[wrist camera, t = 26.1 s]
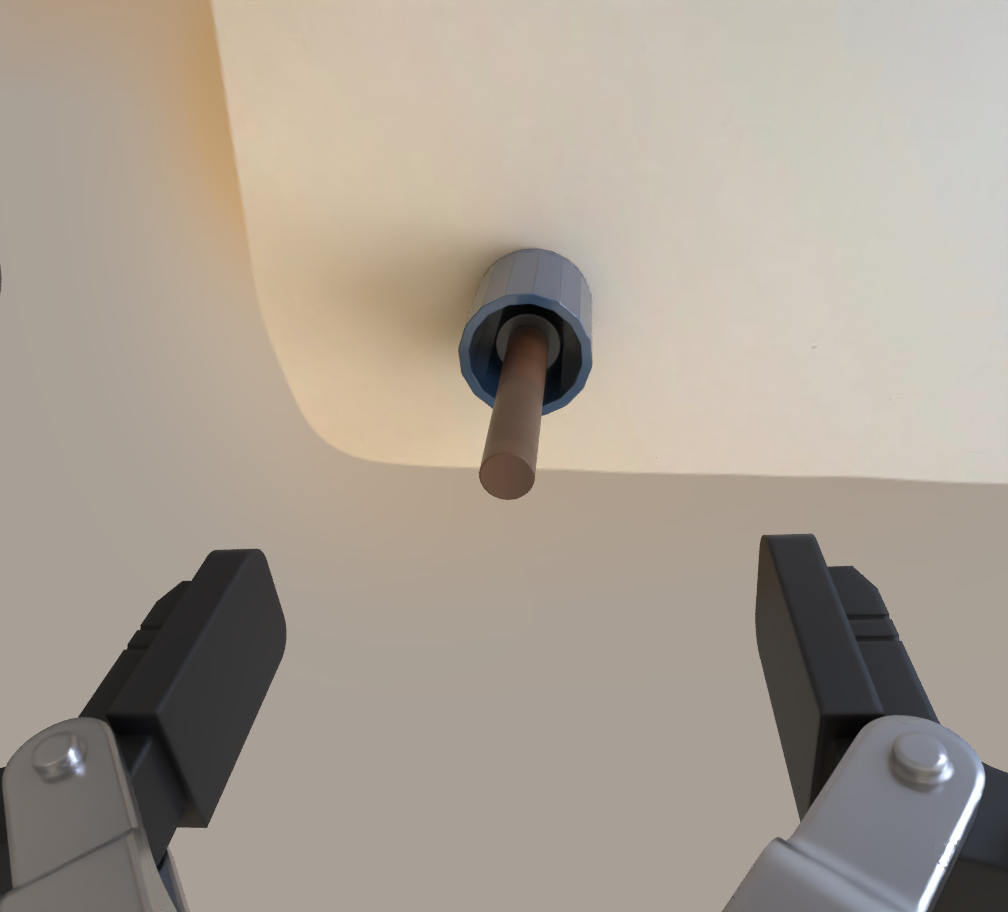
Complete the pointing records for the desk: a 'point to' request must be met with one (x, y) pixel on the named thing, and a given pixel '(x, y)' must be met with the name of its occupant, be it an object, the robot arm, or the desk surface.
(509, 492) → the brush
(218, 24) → the desk surface
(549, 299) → the brush cup
